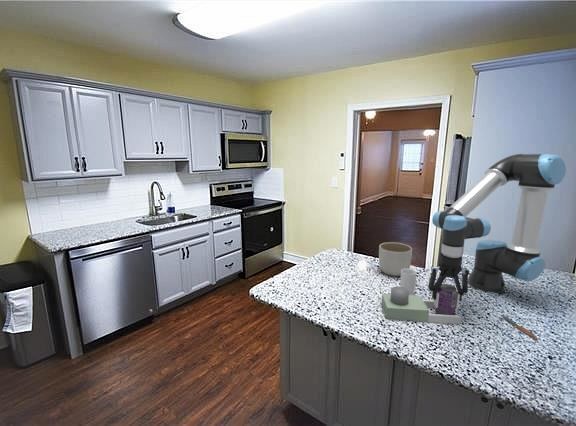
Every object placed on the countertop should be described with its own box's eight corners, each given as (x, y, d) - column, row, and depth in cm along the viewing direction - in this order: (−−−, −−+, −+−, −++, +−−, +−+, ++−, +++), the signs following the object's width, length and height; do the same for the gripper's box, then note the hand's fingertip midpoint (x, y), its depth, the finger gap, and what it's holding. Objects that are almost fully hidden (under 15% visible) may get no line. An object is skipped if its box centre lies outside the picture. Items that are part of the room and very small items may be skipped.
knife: (495, 313, 118) (502, 313, 118) (495, 315, 118) (501, 315, 119) (533, 339, 102) (540, 338, 102) (532, 341, 102) (540, 341, 102)
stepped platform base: (448, 307, 124) (450, 286, 122) (460, 324, 113) (463, 301, 110) (381, 303, 129) (382, 282, 127) (386, 319, 117) (387, 296, 115)
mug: (416, 299, 132) (418, 274, 129) (401, 298, 133) (403, 274, 130) (410, 288, 142) (412, 266, 139) (396, 288, 143) (397, 265, 140)
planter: (383, 264, 172) (384, 240, 169) (413, 270, 162) (415, 245, 159) (373, 274, 159) (374, 248, 155) (405, 282, 149) (407, 254, 146)
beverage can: (452, 310, 121) (455, 284, 119) (456, 320, 115) (459, 292, 112) (433, 308, 123) (436, 282, 121) (436, 316, 117) (439, 289, 114)
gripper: (474, 252, 115) (467, 303, 120) (422, 250, 119) (417, 300, 123) (483, 259, 108) (476, 313, 113) (427, 256, 111) (422, 310, 116)
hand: (445, 306), depth 118 cm, fingers closed on beverage can, 7 cm apart
